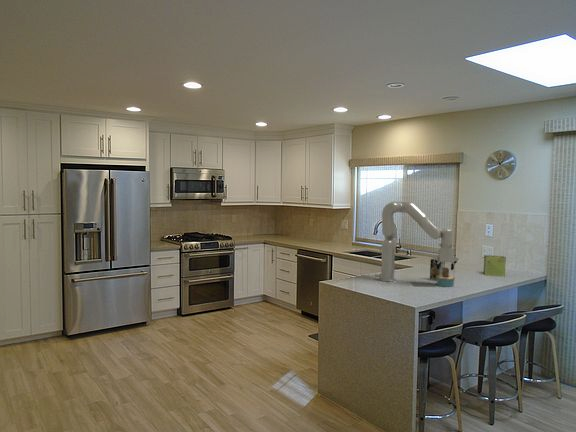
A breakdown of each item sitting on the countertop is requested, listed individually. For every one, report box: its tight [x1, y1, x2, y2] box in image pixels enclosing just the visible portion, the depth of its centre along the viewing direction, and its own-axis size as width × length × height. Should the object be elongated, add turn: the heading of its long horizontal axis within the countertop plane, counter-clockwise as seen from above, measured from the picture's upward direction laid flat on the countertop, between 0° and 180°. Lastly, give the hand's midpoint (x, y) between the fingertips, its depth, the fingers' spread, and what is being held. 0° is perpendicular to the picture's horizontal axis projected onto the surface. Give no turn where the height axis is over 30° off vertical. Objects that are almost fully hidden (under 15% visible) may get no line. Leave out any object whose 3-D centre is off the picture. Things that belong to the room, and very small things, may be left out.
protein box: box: [483, 254, 507, 277], centre depth 360 cm, size 10×15×16 cm
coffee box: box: [429, 258, 446, 282], centre depth 332 cm, size 9×6×16 cm
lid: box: [436, 267, 456, 280], centre depth 313 cm, size 13×13×7 cm
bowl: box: [436, 278, 455, 288], centre depth 314 cm, size 11×11×6 cm
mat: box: [409, 281, 436, 288], centre depth 315 cm, size 15×15×1 cm
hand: (445, 269), depth 313 cm, fingers open, 9 cm apart
